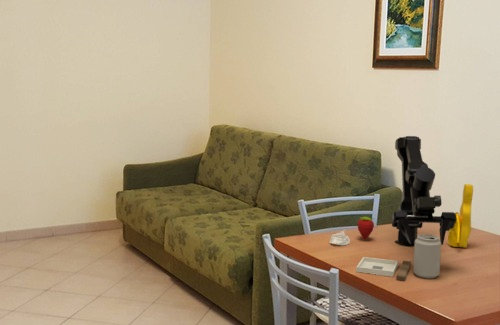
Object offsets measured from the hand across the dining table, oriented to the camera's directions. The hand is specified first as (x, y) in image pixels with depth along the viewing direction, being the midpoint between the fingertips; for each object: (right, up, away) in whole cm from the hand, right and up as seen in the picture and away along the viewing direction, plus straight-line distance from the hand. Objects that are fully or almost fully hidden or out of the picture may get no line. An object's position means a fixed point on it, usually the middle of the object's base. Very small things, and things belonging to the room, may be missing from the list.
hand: (426, 243), depth 174 cm
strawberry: (-11, -4, +38) cm, 40 cm away
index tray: (-14, -9, +5) cm, 17 cm away
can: (0, -10, 0) cm, 10 cm away
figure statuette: (+21, -5, +31) cm, 37 cm away
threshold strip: (-6, -9, +2) cm, 11 cm away
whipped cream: (-22, -5, +33) cm, 39 cm away
